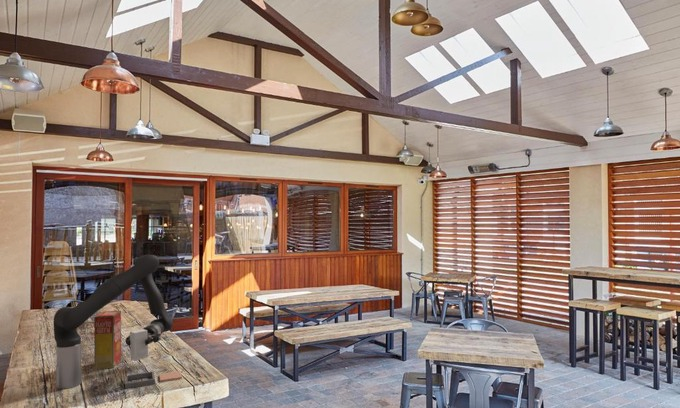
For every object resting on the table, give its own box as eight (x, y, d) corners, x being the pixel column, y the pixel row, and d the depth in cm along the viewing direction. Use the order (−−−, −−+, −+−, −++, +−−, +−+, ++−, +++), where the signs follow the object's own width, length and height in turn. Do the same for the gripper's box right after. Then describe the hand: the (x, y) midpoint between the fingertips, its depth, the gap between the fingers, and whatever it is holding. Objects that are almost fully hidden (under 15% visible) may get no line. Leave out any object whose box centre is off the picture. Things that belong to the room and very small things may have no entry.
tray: (125, 388, 198) (125, 383, 198) (125, 380, 209) (125, 375, 209) (154, 383, 202) (154, 379, 203) (153, 375, 213) (153, 371, 213)
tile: (160, 382, 205) (160, 380, 205) (159, 375, 213) (159, 374, 213) (182, 378, 208) (182, 376, 208) (180, 372, 216) (180, 370, 216)
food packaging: (114, 368, 226) (113, 315, 227) (93, 369, 225) (92, 316, 225) (122, 359, 239) (121, 310, 240) (102, 361, 238) (101, 311, 238)
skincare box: (143, 355, 209) (142, 328, 210) (148, 357, 207) (147, 330, 207) (130, 359, 205) (129, 331, 205) (134, 361, 202) (134, 333, 202)
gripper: (134, 326, 220) (119, 335, 203) (165, 324, 221) (154, 333, 204) (134, 342, 220) (120, 352, 203) (166, 341, 220) (154, 351, 204)
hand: (137, 343), depth 204 cm, fingers closed on skincare box, 7 cm apart
